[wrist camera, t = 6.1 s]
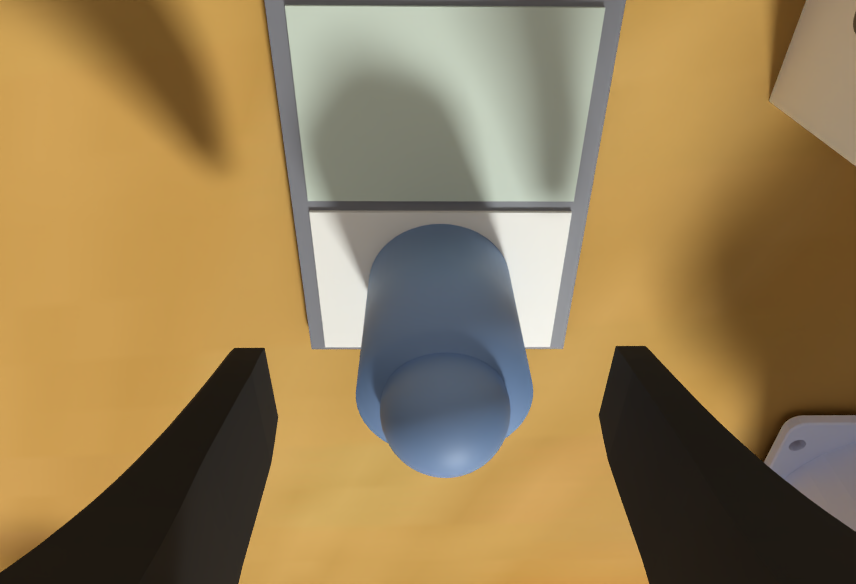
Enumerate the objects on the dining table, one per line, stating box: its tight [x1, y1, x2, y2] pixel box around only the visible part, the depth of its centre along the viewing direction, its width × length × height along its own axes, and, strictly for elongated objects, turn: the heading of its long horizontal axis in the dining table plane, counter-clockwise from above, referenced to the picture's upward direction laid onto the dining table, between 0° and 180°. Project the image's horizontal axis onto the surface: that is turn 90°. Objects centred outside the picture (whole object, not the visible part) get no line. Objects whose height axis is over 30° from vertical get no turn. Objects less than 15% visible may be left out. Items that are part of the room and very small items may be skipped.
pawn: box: [356, 224, 533, 478], centre depth 14 cm, size 4×4×6 cm
